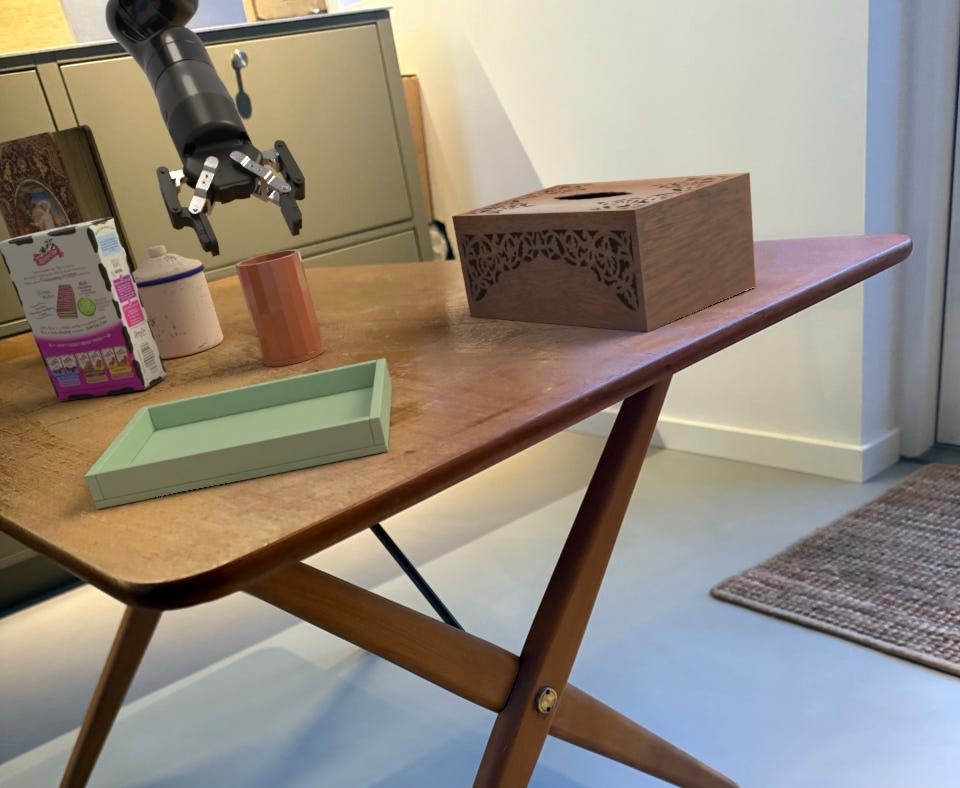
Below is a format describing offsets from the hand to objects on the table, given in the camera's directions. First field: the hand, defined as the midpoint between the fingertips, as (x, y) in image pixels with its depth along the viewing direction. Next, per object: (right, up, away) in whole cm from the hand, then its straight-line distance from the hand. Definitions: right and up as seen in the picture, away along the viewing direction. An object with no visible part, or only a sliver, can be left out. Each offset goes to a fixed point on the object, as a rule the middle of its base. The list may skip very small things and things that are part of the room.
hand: (256, 240), depth 104 cm
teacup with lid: (-13, -7, +18) cm, 23 cm away
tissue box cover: (+35, -7, -2) cm, 36 cm away
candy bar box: (-16, -14, +6) cm, 22 cm away
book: (-25, -4, +27) cm, 37 cm away
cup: (+3, -11, +3) cm, 12 cm away
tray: (+5, -25, -22) cm, 34 cm away
